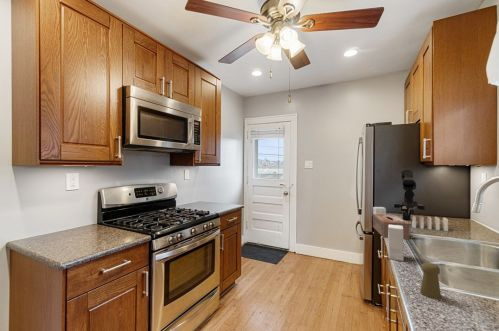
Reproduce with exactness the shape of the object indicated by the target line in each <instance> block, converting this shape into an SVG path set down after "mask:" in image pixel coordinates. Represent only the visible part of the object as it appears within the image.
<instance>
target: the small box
mask: <svg viewBox="0 0 499 331" xmlns="http://www.w3.org/2000/svg"><path fill="white" fill-rule="evenodd" d="M373 214H387V208H386V207H384V206H373V207H372V215H373Z"/></svg>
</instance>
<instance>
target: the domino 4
mask: <svg viewBox="0 0 499 331" xmlns="http://www.w3.org/2000/svg"><path fill="white" fill-rule="evenodd" d="M442 228H443V230H445V231H448V230H449V219H448V218H446V217H442Z"/></svg>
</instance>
